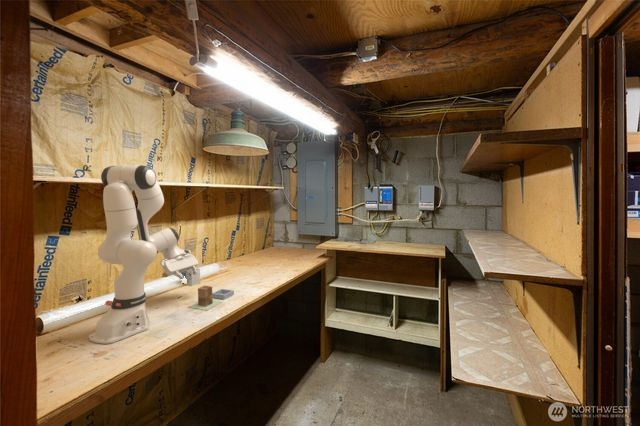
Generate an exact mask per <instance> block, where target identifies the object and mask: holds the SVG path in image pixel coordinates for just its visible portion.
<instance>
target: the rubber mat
mask: <svg viewBox="0 0 640 426" xmlns="http://www.w3.org/2000/svg"><path fill="white" fill-rule="evenodd" d="M222 303H223V301H220V300H216V299H215V300H214V299H213V303H212V304H210V305H208V306H206V307H205V306H200V305H198V301H197V302H195V303H193V304H191V305H189V306H188V309H189V308H190V309H193V310H194V309H195V310H201V311H206V312H207V311H210V310H211V309H213V308H214V307H217V306H218V305H221V304H222Z"/></svg>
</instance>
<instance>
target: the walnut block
mask: <svg viewBox="0 0 640 426" xmlns="http://www.w3.org/2000/svg"><path fill="white" fill-rule="evenodd" d="M212 293H213V286H209V285H203V286H200V287H199V288H197V302H198V305H200V306H205V307H206V306H208V305H210V304H212V303H213V300H214V298H212Z"/></svg>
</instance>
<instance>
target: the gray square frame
mask: <svg viewBox="0 0 640 426" xmlns="http://www.w3.org/2000/svg"><path fill="white" fill-rule="evenodd" d="M234 295H235V290H234V289H233V290H232V289H225V288H220V289H218V290H216V291H214V292H212V298H213V299H215V300H216V299H218V300H224V301H225V300H226V299H229V298H230V297H233V296H234Z"/></svg>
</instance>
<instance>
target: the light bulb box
mask: <svg viewBox="0 0 640 426" xmlns="http://www.w3.org/2000/svg"><path fill="white" fill-rule="evenodd" d="M196 271H197V274H196V275H193V270H191V269H189V270H186V271H182V272H180V274H182V275H183V276H185V278H186V279H187V285H186V286H189V287H190V286H191V287H194V286H196V285H199V284H201V267H200V266H197V267H196Z"/></svg>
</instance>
